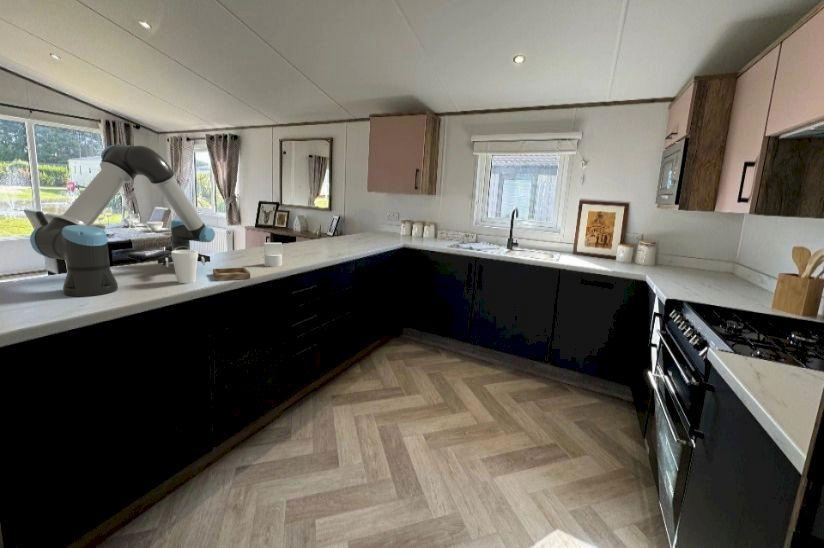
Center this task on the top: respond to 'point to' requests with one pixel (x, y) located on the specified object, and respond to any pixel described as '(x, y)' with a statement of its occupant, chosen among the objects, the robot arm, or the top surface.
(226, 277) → the walnut frame
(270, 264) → the glass of milk
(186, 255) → the foam cup
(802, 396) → the top surface
